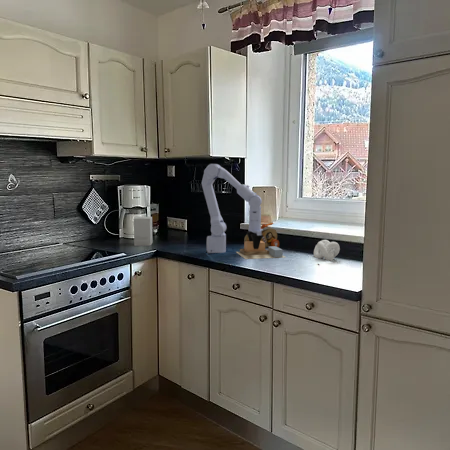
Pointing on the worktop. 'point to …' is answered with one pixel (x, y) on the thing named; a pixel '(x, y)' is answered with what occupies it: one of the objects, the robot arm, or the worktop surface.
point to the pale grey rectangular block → (275, 251)
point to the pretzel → (326, 250)
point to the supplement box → (143, 231)
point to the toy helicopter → (267, 236)
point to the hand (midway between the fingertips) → (254, 247)
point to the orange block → (249, 247)
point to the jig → (256, 254)
